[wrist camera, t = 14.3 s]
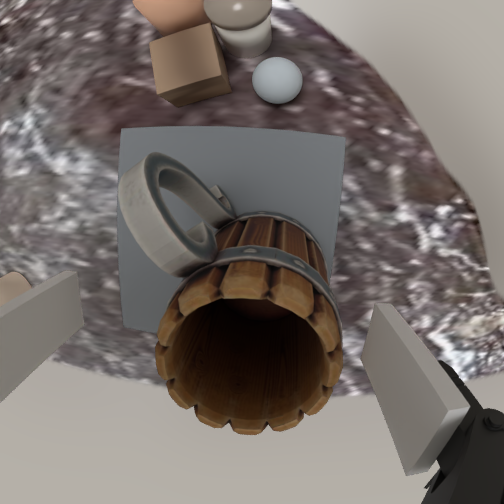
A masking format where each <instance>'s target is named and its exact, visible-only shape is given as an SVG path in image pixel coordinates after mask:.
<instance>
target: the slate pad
mask: <svg viewBox="0 0 504 504" xmlns="http://www.w3.org/2000/svg"><path fill="white" fill-rule="evenodd" d="M345 141H346V137H339V136H332V135H324V134H316V133H308V132H299V131H288V130H277V129H264V128H247V127H222V126H166V127H142V128H126V129H121V139H120V152H119V168H118V185H119V182H120V179H121V177H122V176H123V174H124V173H126V172H127V171H128V170H129V169H131V168H132V167H133V166H134V165H136V164H137V163H138V162H139V161H141V160H142V159H143V158H145V157H146V156H147V155H149V154H150V153H153V152H159V153H162V154H165V155H167V156H170V157H172V158H174V159H176V160H177V161H179V162H181V163H182V164H183V165H185V166H186V167H187V168H188V169H190V170H191V171H192V172H193V173H194V174H195V175H196V176H197V177H198V178H199V179H200V180H201V181H202V182H203V183H204V184H205V185H206V186H207V187H208V188H209V189H210V188H212V187H214V186H215V185H218V186H219V187H220V188H221V189H222V190H223V191H224V193H225V194H226V195H227V197H228V199H229V200H230V202H231V204H232V206H233V208H234V210H235V212H236V215H237V216H238V215H241V214H243V213H246V212H254V211H261V210H264V211H272V212H280V213H282V214H285V215H287V216H289V217H292V218H294V219H296V220H298V221H299V222H300V223H301V224H303V225H304V226H305V227H307V228H308V229H309V230H310V231H311V233H312V234H313V235H314V237H315V238H316V239H317V241H318V242H319V243H320V246H321V249H322V251H323V254H324V257H325V259H326V263H327V271H328V283H330V277H331V270H332V264H333V257H334V250H335V242H336V235H337V227H338V218H339V209H340V200H341V190H342V180H343V168H344V155H345ZM159 189H160V192H161V195H162V197H163V200H164V202H165V204H166V206H167V207H168V209H169V211H170V212H171V214H172V216H173V217H174V219H175V220H176V221H177V223H178V224H179V226H180V227H181V228H182V229H183V230H184V232H186V231H188V230H189V229H191V228H193V227H194V226H196V225H197V224H199V223H200V222H202V221H203V222H204V223H206V224H207V225H208V226H209V227H210V228H212V229H213V232H214V233H215V231H216V230H217V229H215V228H213V227H212V226H210V225H209V224H208V223H207V222H206V221H205V220H203V219H202V218H201V217H200V216H199V215H198V214H197V213H196V212H195V211H194V210H193V209H192V208H191V207H190V206H189V205H188V204H186V203H185V202H184V201H183V200H182V199H180V198H179V197H178V196H176V195H175V194H174V193H172V192H170V191H169V190H167V189H164V188H161V187H159ZM117 241H118V267H119V283H120V296H121V307H122V317H123V326H124V327H125V328H130V329H135V330H140V331H145V332H150V333H156V334H157V331H158V327H159V324H160V320H161V319H162V317H163V315H164V314H165V310H166V307H167V303H168V301H169V299H170V298H171V296H172V295H173V293H174V292H175V290H176V289H177V287H178V286H179V284H180V283H181V281H182V280H183V278H177V277H174V276H172V275H169V274H168V273H166V272H165V271H163V270H162V269H160V268H159V267H158V266H157V265H156V264H155V263H154V262H153V261H152V260H151V259H150V258H149V257H148V256H147V255H146V253H145V252H144V251H143V249H142V248H141V247H140V246H139V244H138V243H137V242H136V240H135V238H134V236H133V235H132V233H131V231H130V230H129V228H128V226H127V224H126V222H125V219H124V217H123V214H122V212H121V209H120V204H119V199H118V194H117Z"/></svg>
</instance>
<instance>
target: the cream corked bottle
mask: <svg viewBox="0 0 504 504" xmlns="http://www.w3.org/2000/svg"><path fill="white" fill-rule="evenodd" d="M30 289H32V287H31V285H30V284H29V282H28V281H27V280H26V279H25V277H24V276H22V275H21V274H20V273H18V272H10V273H8V274H6V275H4V276H3V277H1V278H0V306H2V305H4V304H5V303H7V302H9V301H11V300H12V299H14V298H16V297H17V296H19V295H21V294H23V293H24V292H26V291H28V290H30Z"/></svg>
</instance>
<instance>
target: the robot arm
mask: <svg viewBox="0 0 504 504" xmlns="http://www.w3.org/2000/svg"><path fill="white" fill-rule="evenodd" d="M83 326H84V319H83V313H82V306H81V299H80V291H79V283H78V274H77V272H73V271H67V270H65V271H63V272H61V273H59V274H57V275H55V276H54V277H52V278H50V279H48V280H46V281H44V282H42V283H41V284H39V285H37V286H35V287H33V288H32V289H30V290H28V291H26V292H24V293H23V294H21V295H19V296H17V297H16V298H14V299H12V300H11V301H9V302H7V303H5V304H4V305H2V306H0V402H2V401H3V400H4V399H5V398H6V397H7V396H8V395H9V394H10V393H11V392H12V391H13V390H14V389H15V388H16V387H17V386H18V385H19V384H20V383H21V382H22V381H23V380H24V379H26V378H27V377H28V376H29V375H30V374H31V373H32V372H33V371H34V370H35V369H36V368H37V367H38V366H39V365H40V364H42V363H43V362H44V361H45V360H46V359H47V358H48V357H49V356H50V355H51V354H53V353H54V352H55V351H56V350H57V349H58V348H59V347H60V346H61V345H62V344H64V343H65V342H66V341H67V340H68V339H69V338H70V337H71V336H73V335H74V334H75V333H76V332H77V331H78V330H79V329H81V328H82V327H83ZM361 361H362V363H363V366H364V368H365V371H366V373H367V375H368V378H369V380H370V382H371V385H372V387H373V390H374V392H375V395H376V397H377V400H378V402H379V405H380V407H381V410H382V412H383V415H384V417H385V420H386V423H387V425H388V428H389V430H390V433H391V436H392V438H393V441H394V443H395V446H396V449H397V452H398V455H399V457H400V460H401V463H402V466H403V469H404V472H405V474H406V476H409V475H414V474H419V473H423V472H427V471H428V470H429V469H430V467H431V466H432V465H433V463H434V462H435V460H436V459H437V461H438V464H439V466H440V469H439V470H438V471H437V473H436V474H435V475H434V476H433V478H432V479H431V480H430V481H429V482H428V484H427V485H426V486H425V487H424V488H426V489H427V488H428V487H429V486H430V487H429V489H428V491H427V493H426V495H425V497H424V499H423V501H422V503H421V504H504V414H503V413H502V412H500V411H498V410H495V409H490V408H488V409H483V408H482V406H481V405H480V404H479V402H478V401H477V400H476V398H475V397H474V396H473V394H472V393H471V392H470V390H469V389H468V388H467V386H466V385H465V386H464V382H463V381H462V380H461V378H459V376H458V375H457V373H456V372H455V371H454V369H453V368H452V367H450V366H449V365H448V364H446V363H445V362H443V361H442V360H438V361H437V360H436V359H435V357H434V356H433V355H432V353H431V352H430V351H429V350H428V348H427V347H426V346H425V345H424V343H423V342H422V341H421V339H420V338H419V337H418V336H417V334H416V333H415V332H414V331H413V330H412V328H411V327H410V326H409V325H408V323H407V322H406V321H405V320H404V319H403V317H402V316H401V315H400V314H399V313H398V311H397V310H396V309H395V308H394V307H393V305H392V304H384V303H375V305H374V309H373V314H372V318H371V322H370V326H369V330H368V334H367V337H366V341H365V345H364V348H363V352H362V355H361Z"/></svg>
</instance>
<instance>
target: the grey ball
mask: <svg viewBox="0 0 504 504" xmlns="http://www.w3.org/2000/svg"><path fill="white" fill-rule="evenodd" d="M252 84H253V87H254V90H255V91H256V93H257V94H258V95H259V96H260V97H261V98H262V99H264V100H265V101H268V102H270V103H276V104H280V103H285V102H288V101H290V100H292V99H293V98H295V97H296V96H297V95H298V93H299V92H300V90H301V87H302V75H301V72H300V70H299V68H298V67H297V66H296V65H295V64H294V63H293V62H291V61H290V60H288V59H285V58H281V57H272V58H268V59H266V60H264V61H262V62H261V63H260V64H259V65H258V66H257V67H256V68H255V70H254V72H253V76H252Z"/></svg>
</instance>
